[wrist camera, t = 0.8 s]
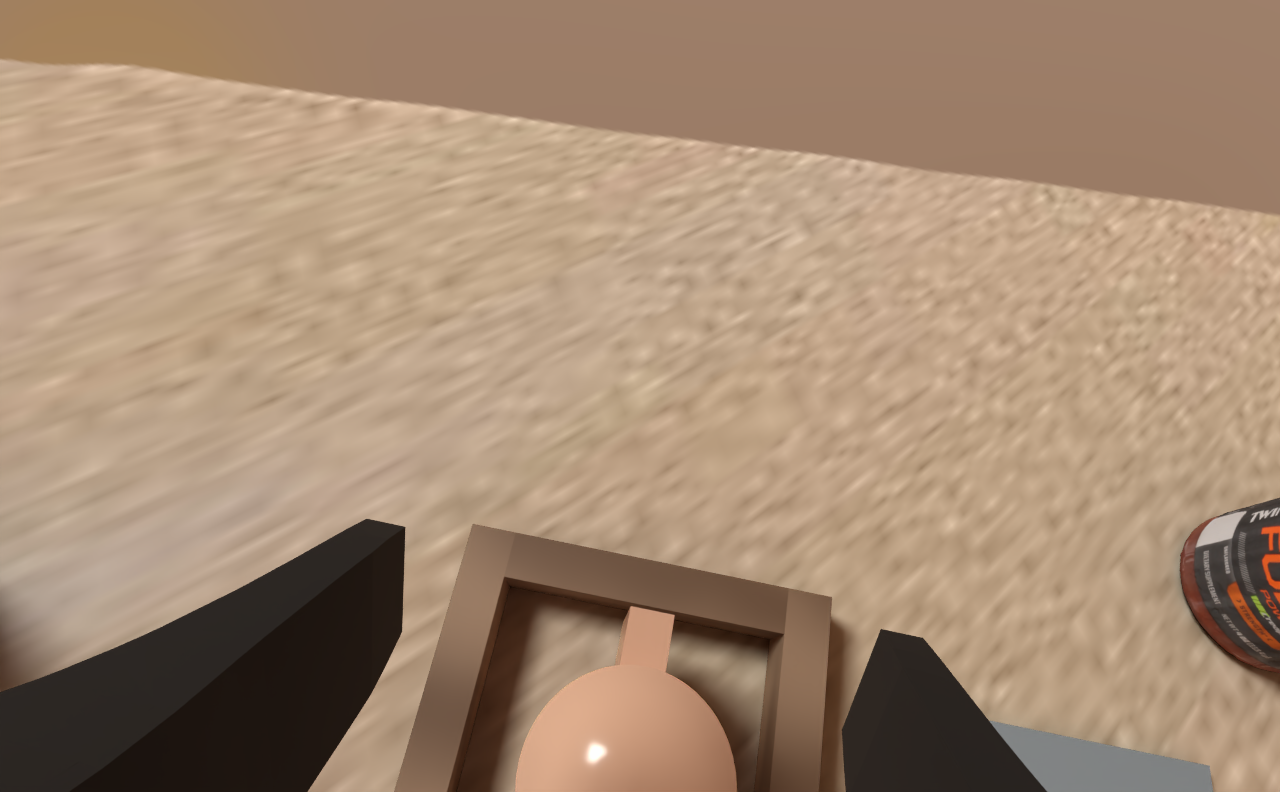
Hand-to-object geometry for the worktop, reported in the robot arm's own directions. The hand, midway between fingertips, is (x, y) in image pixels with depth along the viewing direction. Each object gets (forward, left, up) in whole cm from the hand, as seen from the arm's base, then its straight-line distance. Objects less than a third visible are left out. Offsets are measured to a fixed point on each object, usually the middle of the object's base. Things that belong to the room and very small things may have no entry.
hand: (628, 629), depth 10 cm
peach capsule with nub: (-2, -1, -15) cm, 15 cm away
